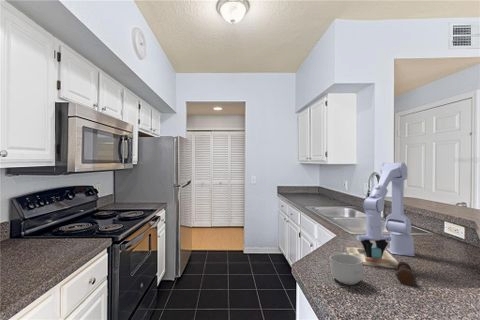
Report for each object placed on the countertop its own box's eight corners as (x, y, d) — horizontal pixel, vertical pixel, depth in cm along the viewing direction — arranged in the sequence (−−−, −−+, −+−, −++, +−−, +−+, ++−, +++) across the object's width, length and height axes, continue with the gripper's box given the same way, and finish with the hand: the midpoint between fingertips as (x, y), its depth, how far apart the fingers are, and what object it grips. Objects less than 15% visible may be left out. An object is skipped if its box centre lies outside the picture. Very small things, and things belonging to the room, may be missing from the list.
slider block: (374, 259, 106) (374, 245, 106) (381, 263, 101) (381, 249, 101) (365, 259, 106) (365, 245, 106) (372, 263, 101) (372, 249, 101)
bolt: (405, 275, 95) (408, 289, 82) (392, 266, 97) (393, 278, 84) (414, 263, 93) (418, 276, 81) (400, 255, 96) (402, 265, 83)
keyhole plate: (386, 253, 115) (386, 247, 115) (402, 269, 96) (402, 262, 96) (346, 249, 120) (346, 244, 120) (353, 263, 101) (353, 257, 101)
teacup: (361, 291, 77) (361, 266, 78) (326, 282, 83) (326, 259, 83) (365, 275, 89) (364, 254, 89) (334, 269, 95) (334, 248, 95)
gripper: (383, 223, 108) (383, 254, 108) (352, 223, 107) (352, 254, 106) (394, 227, 101) (395, 259, 101) (361, 227, 100) (362, 260, 99)
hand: (374, 257), depth 103 cm, fingers open, 4 cm apart
